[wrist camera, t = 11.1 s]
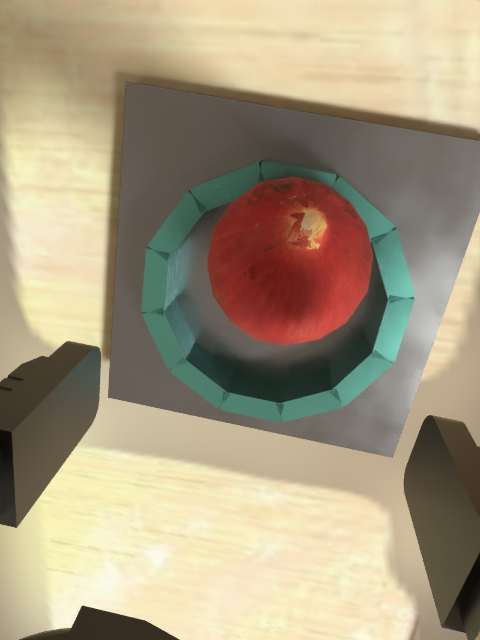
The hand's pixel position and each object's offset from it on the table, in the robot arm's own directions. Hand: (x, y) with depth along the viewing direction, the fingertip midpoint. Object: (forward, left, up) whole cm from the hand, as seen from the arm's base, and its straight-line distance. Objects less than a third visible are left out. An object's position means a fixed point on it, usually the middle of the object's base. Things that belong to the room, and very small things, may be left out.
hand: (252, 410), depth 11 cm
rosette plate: (0, 0, -11) cm, 11 cm away
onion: (0, 0, -10) cm, 10 cm away
